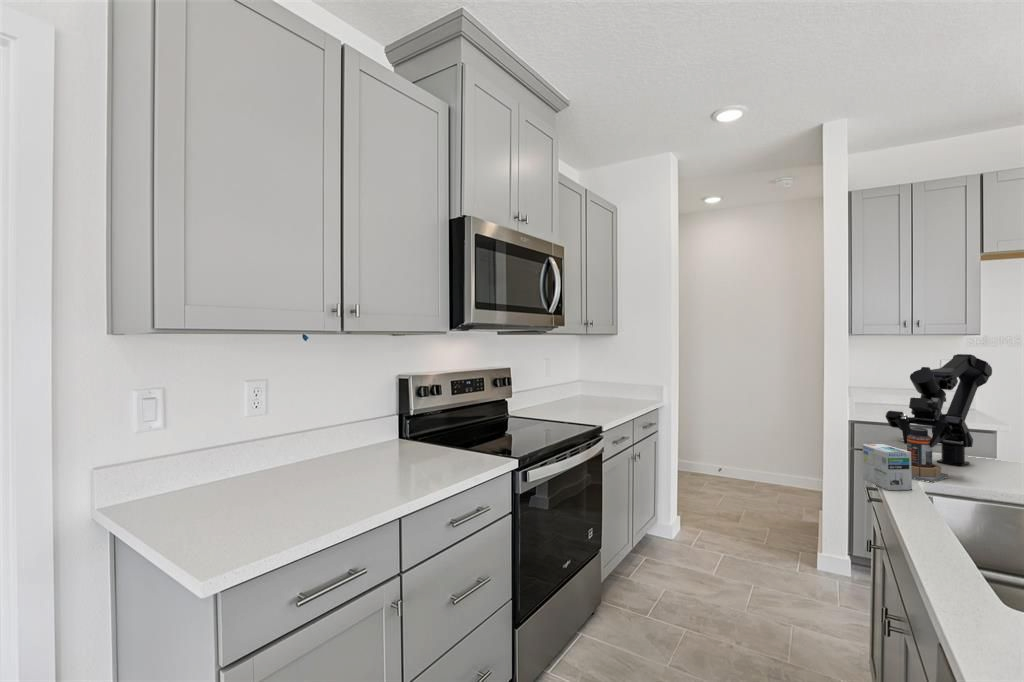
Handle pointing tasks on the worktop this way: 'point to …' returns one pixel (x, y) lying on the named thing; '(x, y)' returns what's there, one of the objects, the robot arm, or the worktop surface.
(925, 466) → the supplement bottle
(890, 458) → the light bulb box
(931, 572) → the worktop surface
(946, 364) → the robot arm
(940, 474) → the bottle socket
